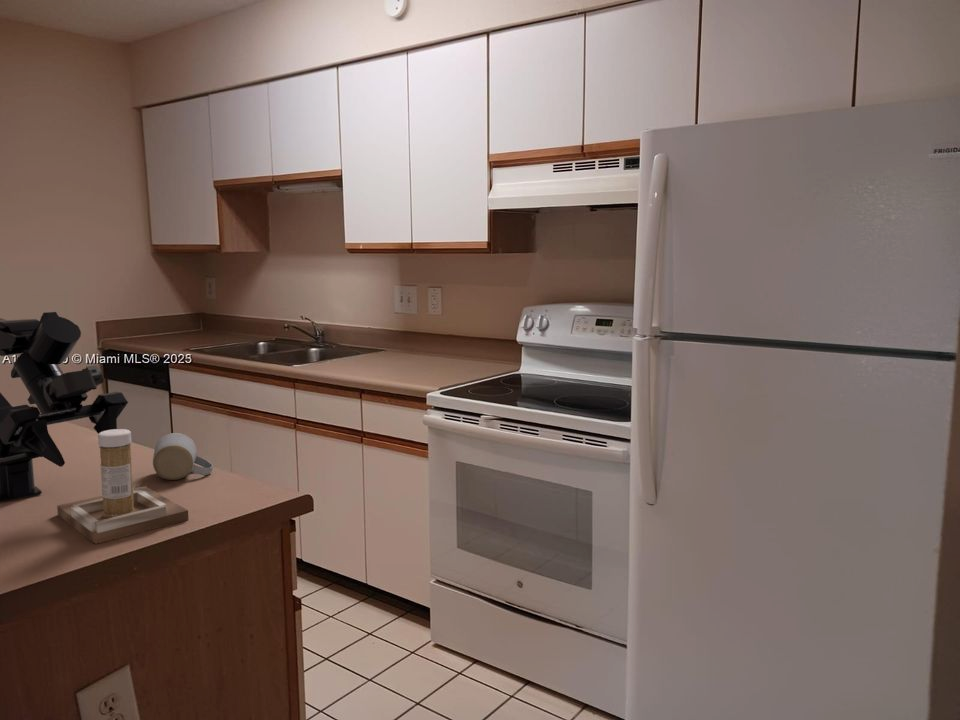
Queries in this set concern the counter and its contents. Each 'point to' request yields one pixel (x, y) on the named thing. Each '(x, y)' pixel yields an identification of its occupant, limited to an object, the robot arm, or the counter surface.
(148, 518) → the socket board
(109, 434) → the sprinkles bottle
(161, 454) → the ceramic mug
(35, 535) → the counter surface
